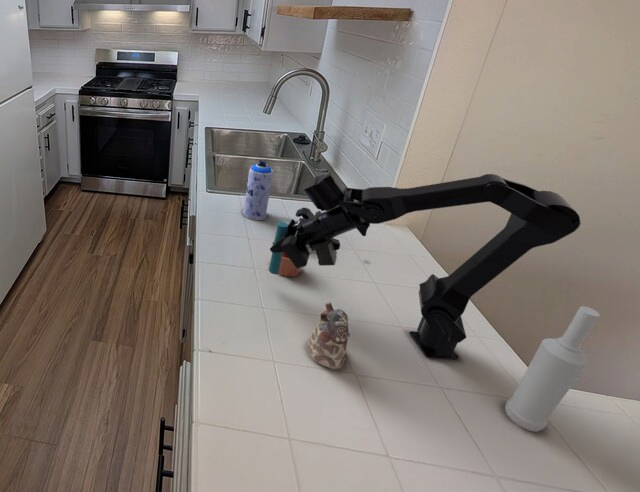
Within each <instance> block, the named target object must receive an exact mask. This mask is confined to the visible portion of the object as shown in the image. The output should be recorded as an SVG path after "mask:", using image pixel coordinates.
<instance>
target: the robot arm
mask: <svg viewBox="0 0 640 492" xmlns="http://www.w3.org/2000/svg"><path fill="white" fill-rule="evenodd" d="M301 190H302V191H303V192H304V194H305V195H306V196H307V197H308V199H309V200H310V201H311V202H312V204H313V205H314V207H315V208H316V209H317V210H318V211H316V212H315V213H313V212H312V210H311V209H310V208H308V207H302V208H299V209H297V210H296V212H295V217H296V218H299V219H298V220H295V219H294V218H293V219H291V220H290V221H289V223H287V224H288V229H287V232H286V233H285V234H284V235H283V236H282V237H281V238H280V239H279V240H278V241H277V242H276V243H275V244H274V241H272V246H271V247H270V248H269V251H270V252H271V254H272V253H278V252H285V253H286V255H287V256H288V257H289V259H290V260H291V261H292V263H293V264H294V265H295V266H296V268H300V269H302V268H305V267H306V266H307V265H308V261H309V258H310V254H311V252H310V251H309V250H308V249H310V250H311V251H312V252H315V254H316V257H317V262H318V263H317V264H318V266H324V267H325V266H335V265H336V262H337V258H338V257H337V255H338V250H340V249H341V242H340V239H337V238H335V237H338V236H340V235H343V234H346V233H348V232H350V231H353V230H355V229H357V231H358V232H359V233H360V235H361V236H362V237H366V236H367V231H368V230H369V228H370V226H371V224H372V225H379V224H383V223H387V222H390V221H394V220H397V219H399V218H401V217H403V216H405V215H407V214H410V213H414V212H421V211H422V212H423V211H429V210H437V209H443V208H444V209H445V208H452V207H460V206H466V205H467V206H468V205H475V204H483V203H491V204H494V205H496V206H498V207H500V208H501V209H503V210H505V211H507V212H509V214H510V216H509V218H508V220H507V222H506V225H505V226H504V228H503V229H502V230H500V231H499V232H497V234H495V236H493V237H492V238H491V239H490V240H489V241H488V242H486V243H485V244H484V245H483V246H482V247H481V248H480V249H478V250H477V251H475V253H474V254H473V255H471V256H470V257H468V258H467V260H466V261H464V262H463V263H462V264H461V265H460V266H459V267H457V268H456V269H455V270H454V271H453V272H452V273H450V274H449V275H447V276H444V277H438V276H436V275H435V274H434V273H432V274H430V275H429V277H428V278H427V280H425V281H424V282H421V283H419V289H418V300H419V307H420V314H421V316H422V317H421V319H420V321H419V324H418V327H417V329H416V331H412V330H410V331H409V332H408V334H409V335H410V337H411V338H412V340H413V341H414V343H415V344H416V345H417V346H418V348H419V349H420V350H421V352H422V353H423V355H424V356H425V357H427V358H428V359H429V358H432V359H443V360H444V359H446V360H459V358H460V356H459V354H457V352H456V351H455V349H456V347H457V346H458V344H459V343H461V342H462V341H464V340H465V339H467V334H466V330H465V326H464V322H463V318H462V315H463V314H465V313H464V312H465V311H466V308H467V306H468V303H469V301H470V300H471V298H472V297H473V296H474V295H475V294H476V293H478V292H480V290H482V289H483V288H484V287H485V286H486V285H487V284H488V283H490V282H492V281H493V280H494V279H495V278H496V277H498V276H499V275H501V274H502V273H503V272H505V271H506V270H507V269H508V268H509V267H510V266H511V265H513V264H514V263H516V262H517V261H518V260H519V259H521V258H522V257H523V256H524V255H527V253H528V252H529V251H531V250H533V249H535V248H538V247H542V246H547V245H552V244H554V243H556V242H558V241H560V240H563V239H564V238H566V237H568V236H569V235H571V234H573V233H575V232H576V231H577V230H578V229H580V227H581V225H582V222H581V217H580V215H579V213H578V212H577V211H576V210H575V209H574V208H573V206H571V204H569V202H568V201H567V200H566V199H565V198H564V197H563V196H562V195H560V194H558V193H557V192H553V191H551V190H537V189H535V188H533V187H530V186H529V185H526V184H524V183H520V182H517V181H512V180H509V179H506V178H504V177H502V176H500V175H498V174H494V173H486V174H482V175H481V176H476V177H470V178H464V179H457V180H452V181H445V182H439V183H438V182H437V183H432V184H427V185H420V186H415V187H414V186H413V187H408V188H400V187H399V188H398V187H392V186H372V187H371V186H370V187H367V188H365V189H363V188H354V187H353V188H352V187H344V188H343V187H342V186H341V185H340V183H339V182H338V181H337V179H336V177H335V175H334V174H333V173H332V172H329V173H326V174H321V175H316V176H314V177H313V178H311V179H309V180H308V181H306V182H305V183H304V184H303V185H302V186H301ZM308 246H309V247H308Z"/></svg>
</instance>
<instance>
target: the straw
mask: <svg viewBox="0 0 640 492" xmlns="http://www.w3.org/2000/svg"><path fill="white" fill-rule="evenodd" d="M288 224H289V223H287V222H285V221H278V222H277V224H276V231H275V236H274V241H273V242H274V244H275V243H276V242H277V241H278V240H279V239H280V238H281V237H282V236H283V235H284V234H285V233H286V232H287V229H288ZM282 254H283V252H278V253H272V252H271V256H270V262H269V268H268V272H269V273H270V274H272V275H279V269H280V264H281V259H282Z"/></svg>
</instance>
